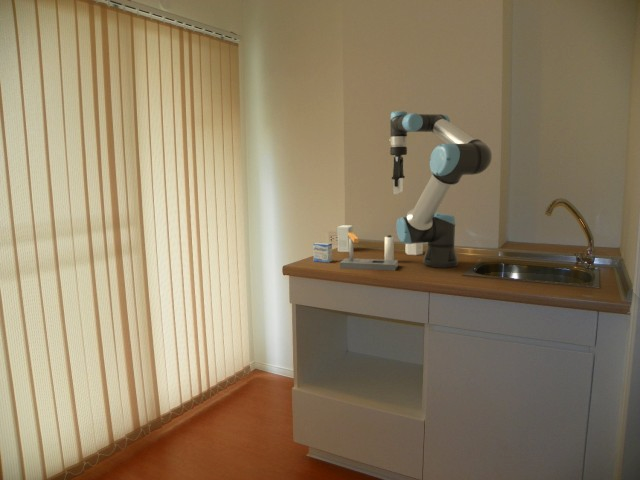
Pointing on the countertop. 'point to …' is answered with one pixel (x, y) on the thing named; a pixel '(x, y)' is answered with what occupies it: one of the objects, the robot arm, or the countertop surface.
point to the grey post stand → (367, 262)
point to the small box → (343, 237)
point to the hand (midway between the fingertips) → (398, 193)
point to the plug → (389, 248)
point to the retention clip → (353, 237)
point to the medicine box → (322, 252)
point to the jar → (414, 249)
